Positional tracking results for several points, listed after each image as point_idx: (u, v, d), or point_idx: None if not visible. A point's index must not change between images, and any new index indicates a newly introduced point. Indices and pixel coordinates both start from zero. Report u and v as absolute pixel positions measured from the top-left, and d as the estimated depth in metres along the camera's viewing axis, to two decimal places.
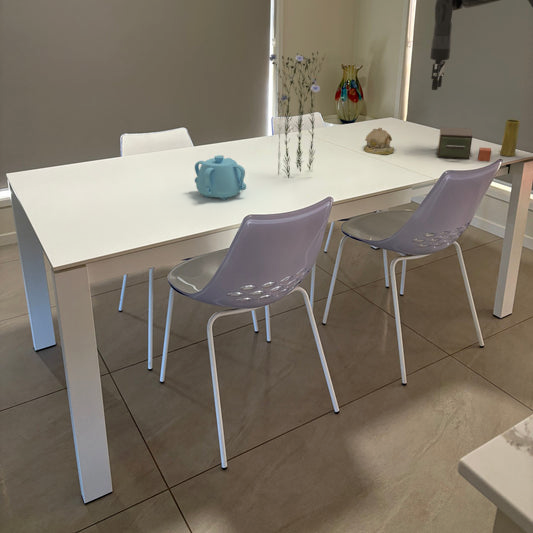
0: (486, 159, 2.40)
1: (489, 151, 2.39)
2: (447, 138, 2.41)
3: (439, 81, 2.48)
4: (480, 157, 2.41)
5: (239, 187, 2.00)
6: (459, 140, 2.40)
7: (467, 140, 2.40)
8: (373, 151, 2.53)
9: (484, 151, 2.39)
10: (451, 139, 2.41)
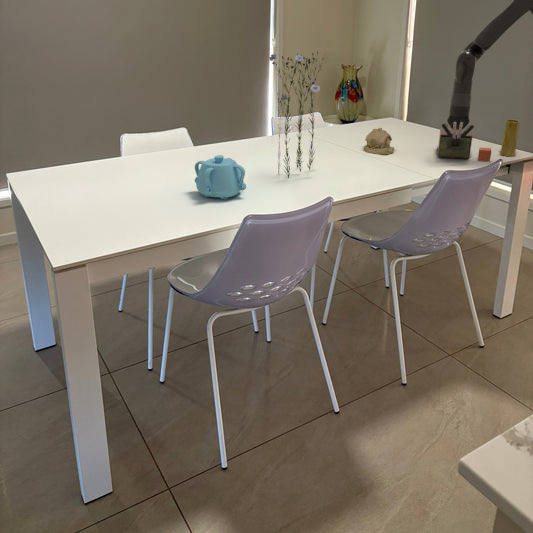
0: (486, 159, 2.40)
1: (489, 151, 2.39)
2: (447, 138, 2.41)
3: None
4: (480, 157, 2.41)
5: (239, 187, 2.00)
6: (459, 140, 2.40)
7: (467, 140, 2.39)
8: (373, 151, 2.53)
9: (484, 151, 2.39)
10: (451, 139, 2.41)
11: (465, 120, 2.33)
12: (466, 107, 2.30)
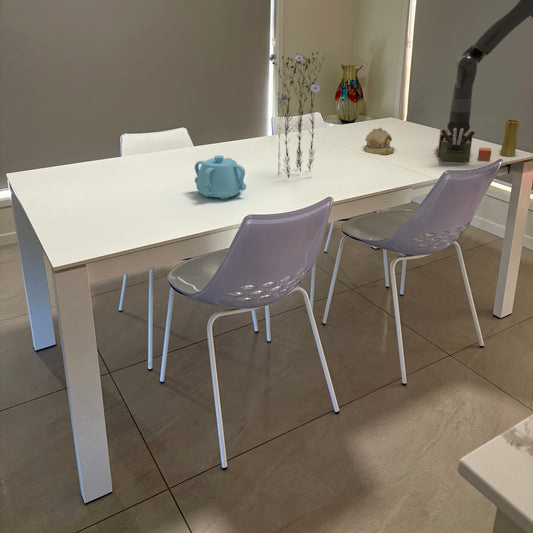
0: (486, 159, 2.40)
1: (489, 151, 2.39)
2: (447, 142, 2.35)
3: None
4: (480, 157, 2.41)
5: (239, 187, 2.00)
6: None
7: (468, 144, 2.33)
8: (373, 151, 2.53)
9: (484, 151, 2.39)
10: None
11: (465, 126, 2.28)
12: (466, 113, 2.24)
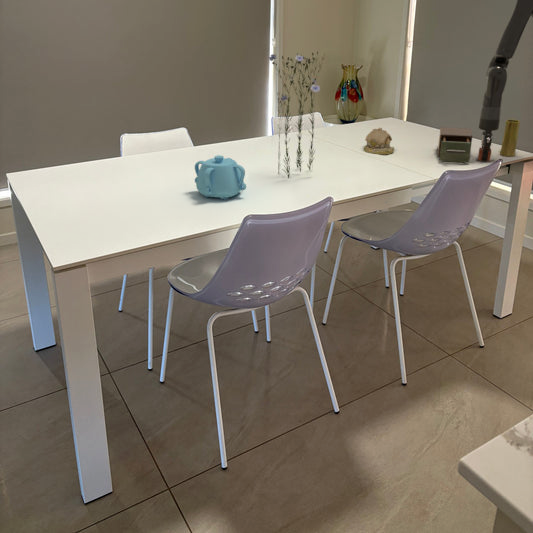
0: None
1: (489, 151, 2.39)
2: (447, 142, 2.35)
3: None
4: (480, 157, 2.41)
5: (239, 187, 2.00)
6: (460, 144, 2.34)
7: (468, 144, 2.33)
8: (373, 151, 2.53)
9: None
10: (451, 143, 2.35)
11: None
12: None
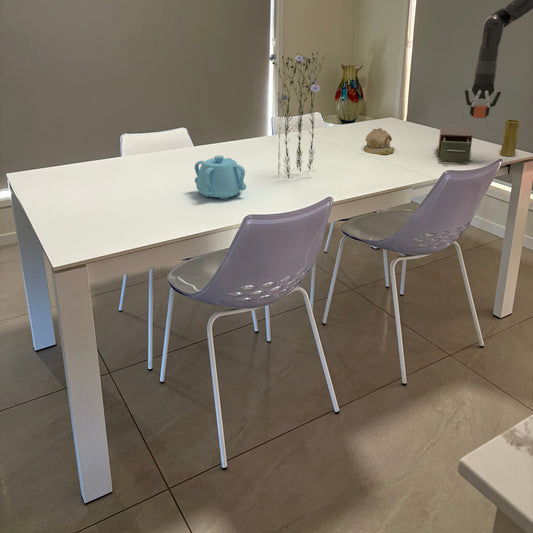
0: (473, 115, 2.35)
1: None
2: (447, 142, 2.35)
3: None
4: None
5: (239, 187, 2.00)
6: (460, 144, 2.34)
7: (468, 144, 2.33)
8: (373, 151, 2.53)
9: (474, 106, 2.34)
10: (451, 143, 2.35)
11: (490, 89, 2.29)
12: (492, 75, 2.25)
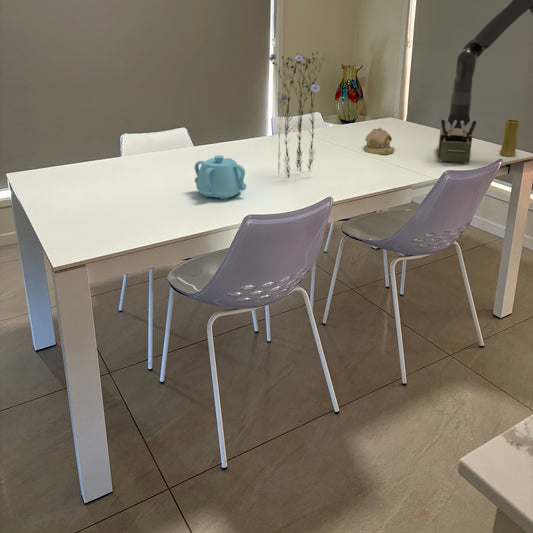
0: None
1: None
2: (447, 142, 2.35)
3: (462, 140, 2.38)
4: None
5: (239, 187, 2.00)
6: (460, 144, 2.34)
7: (468, 144, 2.33)
8: (373, 151, 2.53)
9: None
10: (451, 143, 2.35)
11: (466, 118, 2.33)
12: (466, 105, 2.29)
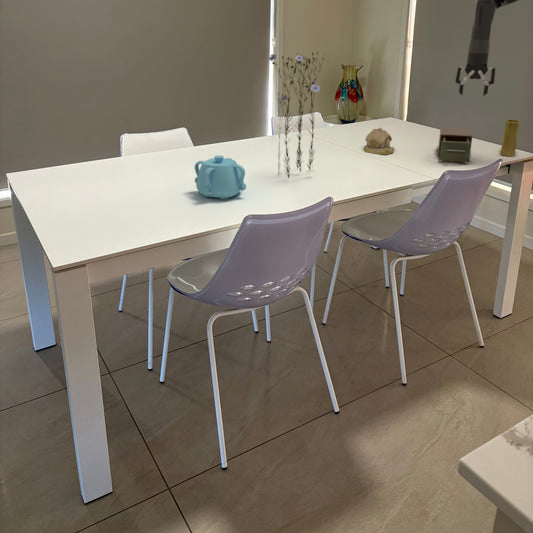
0: None
1: None
2: (447, 142, 2.35)
3: (484, 89, 2.29)
4: None
5: (239, 187, 2.00)
6: (460, 144, 2.34)
7: (468, 144, 2.33)
8: (373, 151, 2.53)
9: None
10: (451, 143, 2.35)
11: (483, 68, 2.25)
12: (485, 54, 2.22)
